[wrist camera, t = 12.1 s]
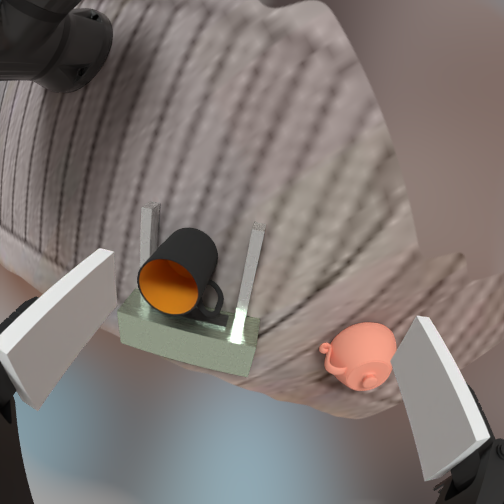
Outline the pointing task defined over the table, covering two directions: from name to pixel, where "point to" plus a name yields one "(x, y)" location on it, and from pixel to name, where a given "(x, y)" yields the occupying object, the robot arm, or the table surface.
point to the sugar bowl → (361, 355)
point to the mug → (180, 274)
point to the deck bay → (193, 316)
